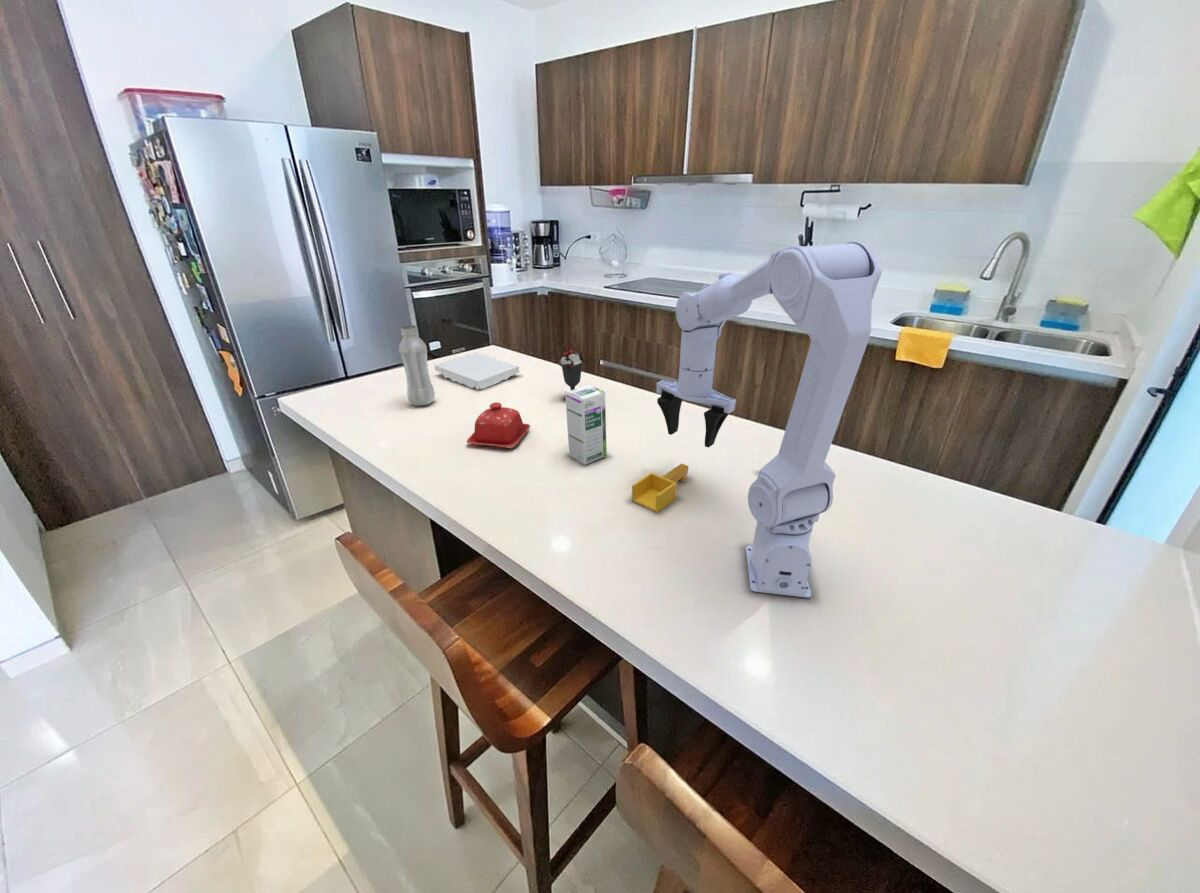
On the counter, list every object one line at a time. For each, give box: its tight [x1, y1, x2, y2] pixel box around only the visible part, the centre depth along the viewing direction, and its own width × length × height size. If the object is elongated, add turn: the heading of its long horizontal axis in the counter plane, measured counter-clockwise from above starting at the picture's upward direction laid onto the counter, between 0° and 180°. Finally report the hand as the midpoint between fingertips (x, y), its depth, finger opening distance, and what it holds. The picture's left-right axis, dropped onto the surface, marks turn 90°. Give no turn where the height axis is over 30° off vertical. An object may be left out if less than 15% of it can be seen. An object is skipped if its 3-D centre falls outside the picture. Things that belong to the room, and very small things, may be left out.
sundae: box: [558, 344, 585, 402], centre depth 128 cm, size 7×7×15 cm
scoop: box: [631, 463, 689, 513], centre depth 90 cm, size 13×6×4 cm, turn 139°
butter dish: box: [466, 401, 531, 448], centre depth 109 cm, size 12×12×8 cm
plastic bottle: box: [398, 324, 436, 406], centre depth 125 cm, size 6×7×20 cm
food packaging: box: [434, 351, 520, 391], centre depth 147 cm, size 15×3×20 cm
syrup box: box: [564, 384, 607, 466], centre depth 100 cm, size 6×6×14 cm
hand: (690, 438), depth 89 cm, fingers open, 7 cm apart
